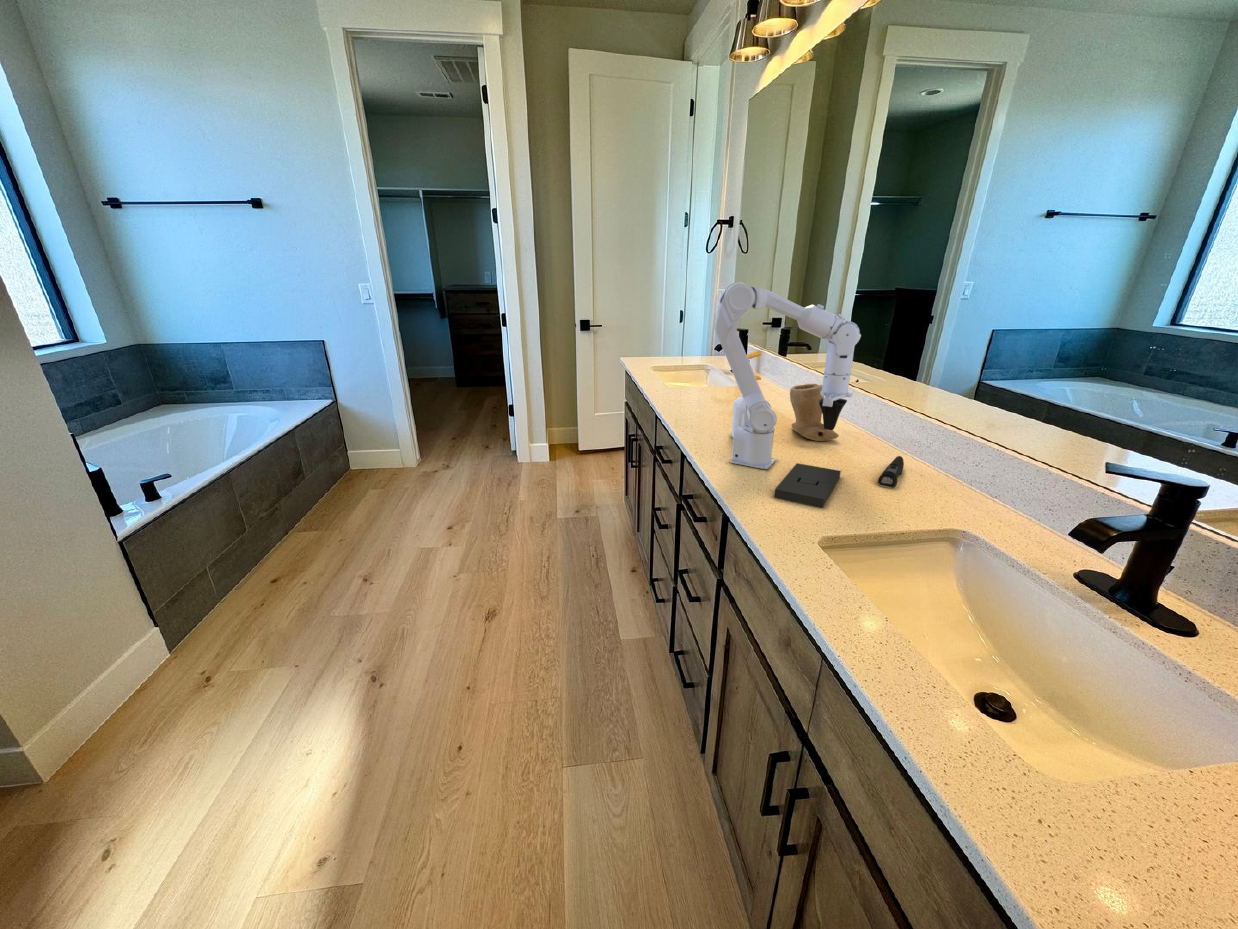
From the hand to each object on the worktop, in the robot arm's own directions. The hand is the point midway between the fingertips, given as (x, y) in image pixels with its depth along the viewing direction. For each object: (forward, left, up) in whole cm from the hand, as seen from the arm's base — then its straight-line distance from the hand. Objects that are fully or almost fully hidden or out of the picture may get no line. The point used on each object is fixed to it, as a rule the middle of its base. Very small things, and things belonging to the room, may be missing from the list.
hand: (829, 428), depth 120 cm
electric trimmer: (+15, 0, -10) cm, 18 cm away
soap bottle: (-24, +12, -10) cm, 28 cm away
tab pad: (0, -13, -9) cm, 16 cm away
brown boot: (-9, +23, -10) cm, 26 cm away
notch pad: (0, -21, -9) cm, 23 cm away
